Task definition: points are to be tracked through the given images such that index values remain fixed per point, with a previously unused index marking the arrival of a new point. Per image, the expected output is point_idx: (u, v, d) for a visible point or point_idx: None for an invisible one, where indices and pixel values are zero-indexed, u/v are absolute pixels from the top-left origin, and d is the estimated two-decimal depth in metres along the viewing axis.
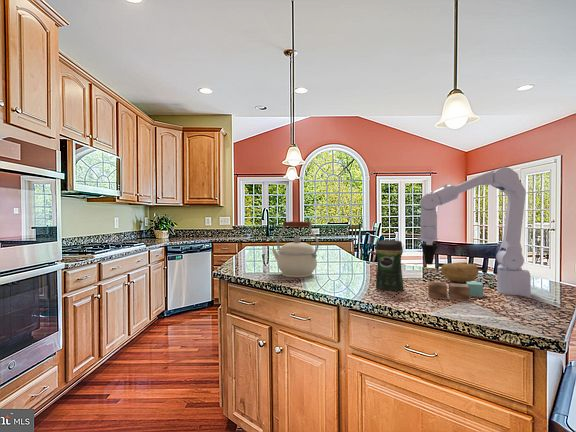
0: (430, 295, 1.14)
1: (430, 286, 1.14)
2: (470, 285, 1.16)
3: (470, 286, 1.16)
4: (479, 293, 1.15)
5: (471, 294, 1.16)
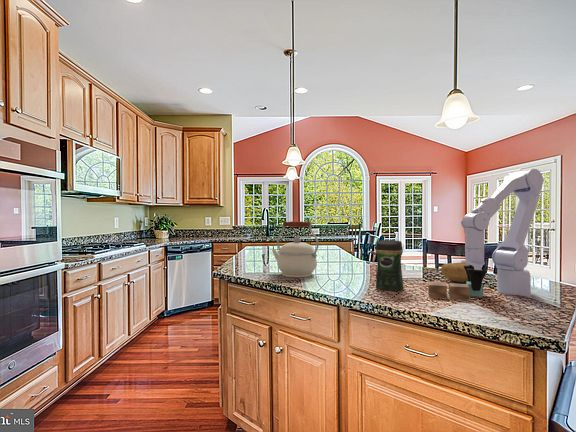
0: (430, 295, 1.14)
1: (430, 286, 1.14)
2: (470, 285, 1.16)
3: (470, 286, 1.16)
4: (479, 293, 1.15)
5: (471, 294, 1.16)
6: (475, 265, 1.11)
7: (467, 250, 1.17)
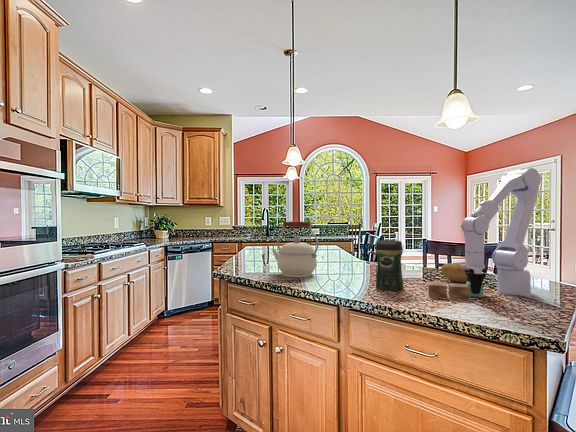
0: (430, 295, 1.14)
1: (430, 286, 1.14)
2: (470, 285, 1.16)
3: (470, 286, 1.16)
4: None
5: (471, 294, 1.16)
6: (475, 269, 1.11)
7: (467, 254, 1.17)
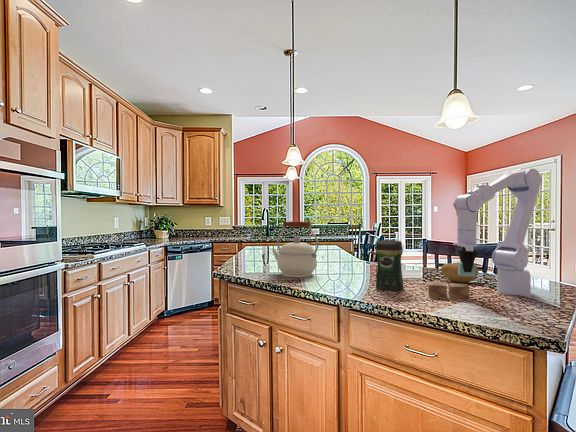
0: (430, 295, 1.14)
1: (430, 286, 1.14)
2: (462, 265, 1.14)
3: (462, 266, 1.14)
4: (470, 273, 1.13)
5: (463, 274, 1.14)
6: (467, 246, 1.09)
7: (459, 232, 1.15)
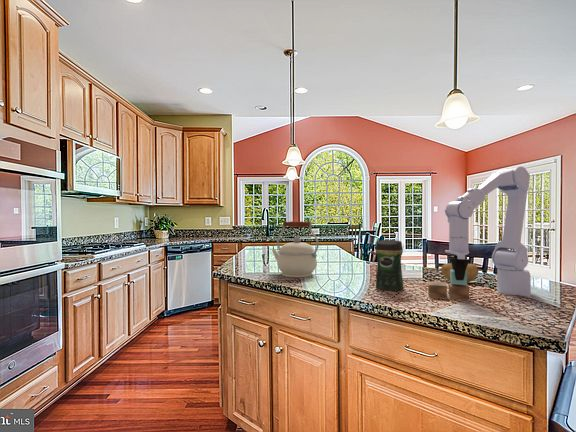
0: (430, 295, 1.14)
1: (430, 286, 1.14)
2: (453, 273, 1.12)
3: (454, 274, 1.12)
4: (462, 281, 1.11)
5: (455, 282, 1.12)
6: (458, 254, 1.07)
7: (451, 239, 1.13)
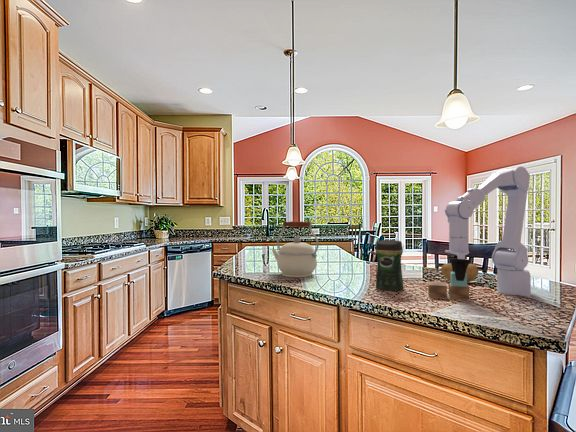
0: (430, 295, 1.14)
1: (430, 286, 1.14)
2: (453, 275, 1.12)
3: (453, 276, 1.12)
4: (462, 283, 1.11)
5: (454, 284, 1.12)
6: (458, 254, 1.07)
7: (451, 239, 1.13)
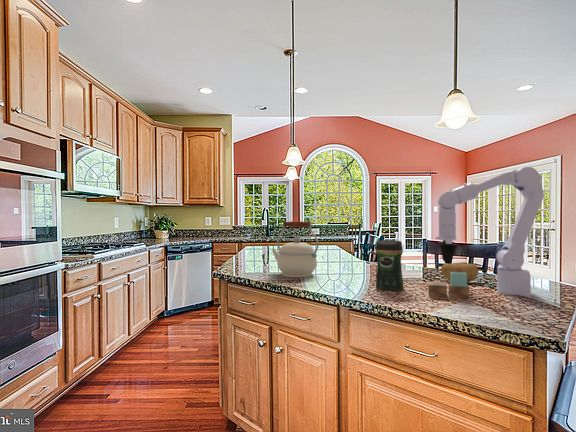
0: (430, 295, 1.14)
1: (430, 286, 1.14)
2: (453, 275, 1.12)
3: (453, 276, 1.12)
4: (462, 283, 1.11)
5: (454, 284, 1.12)
6: (446, 239, 1.21)
7: (440, 227, 1.27)
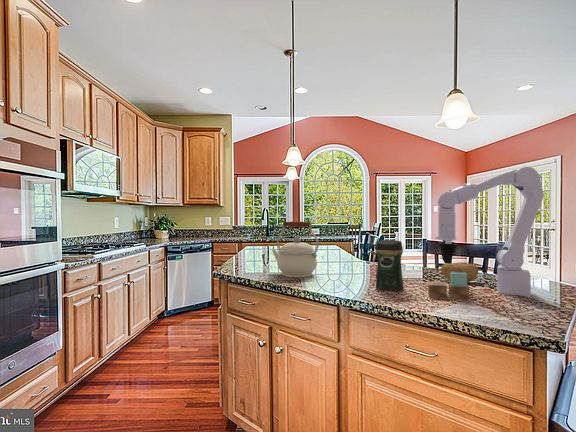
0: (430, 295, 1.14)
1: (430, 286, 1.14)
2: (453, 275, 1.12)
3: (453, 276, 1.12)
4: (462, 283, 1.11)
5: (454, 284, 1.12)
6: (446, 239, 1.21)
7: (440, 227, 1.27)
